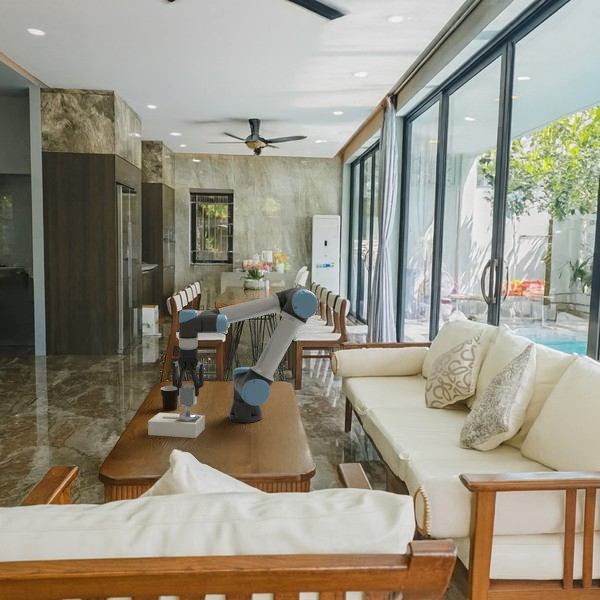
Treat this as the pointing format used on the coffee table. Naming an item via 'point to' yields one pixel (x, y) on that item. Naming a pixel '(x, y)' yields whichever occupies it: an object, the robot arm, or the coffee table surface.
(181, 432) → the white stepped recess tray
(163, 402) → the coffee mug
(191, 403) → the t peg
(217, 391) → the coffee table surface
